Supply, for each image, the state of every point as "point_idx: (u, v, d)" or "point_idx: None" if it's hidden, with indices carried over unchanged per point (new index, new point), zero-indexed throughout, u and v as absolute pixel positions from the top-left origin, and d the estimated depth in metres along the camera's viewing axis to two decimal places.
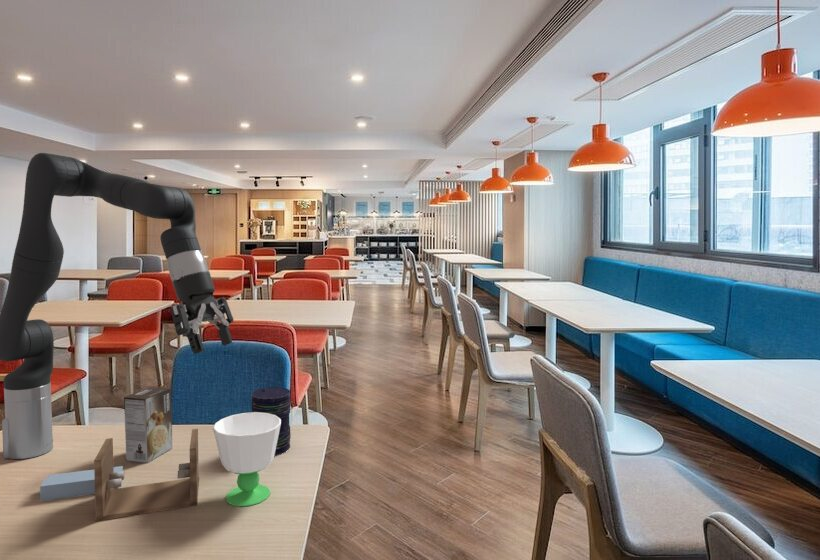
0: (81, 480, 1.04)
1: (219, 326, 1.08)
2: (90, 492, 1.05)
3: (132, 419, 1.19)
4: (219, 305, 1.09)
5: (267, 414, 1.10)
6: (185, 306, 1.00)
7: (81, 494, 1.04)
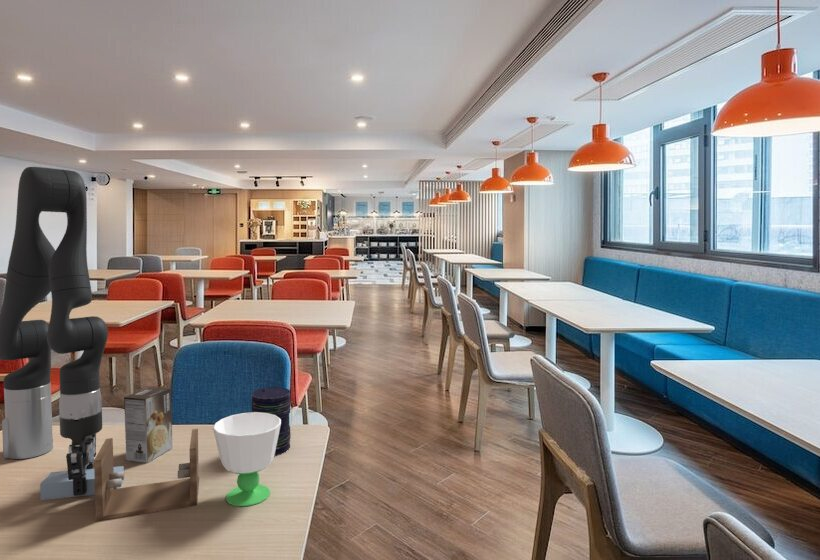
0: None
1: (83, 462, 1.08)
2: (89, 491, 1.04)
3: (132, 419, 1.19)
4: None
5: (267, 414, 1.10)
6: (79, 450, 1.01)
7: None
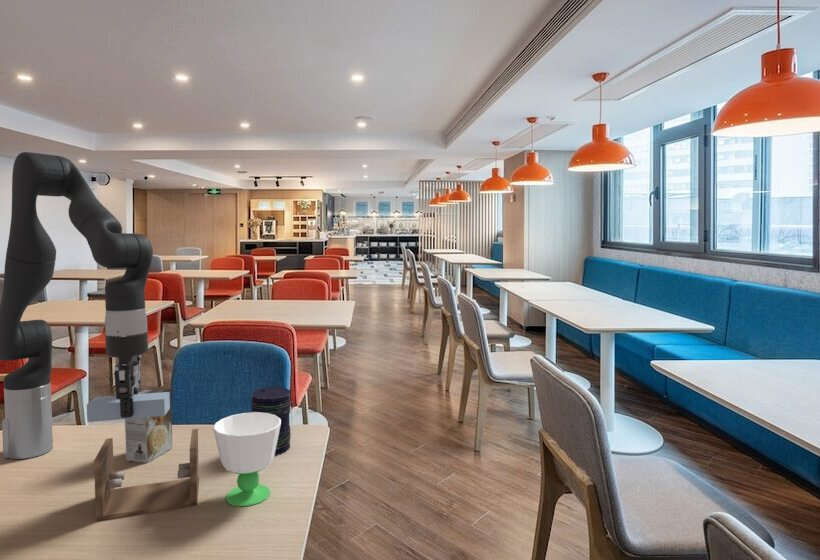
0: None
1: None
2: (136, 414, 1.00)
3: (132, 419, 1.19)
4: None
5: (267, 414, 1.10)
6: (126, 368, 0.97)
7: None
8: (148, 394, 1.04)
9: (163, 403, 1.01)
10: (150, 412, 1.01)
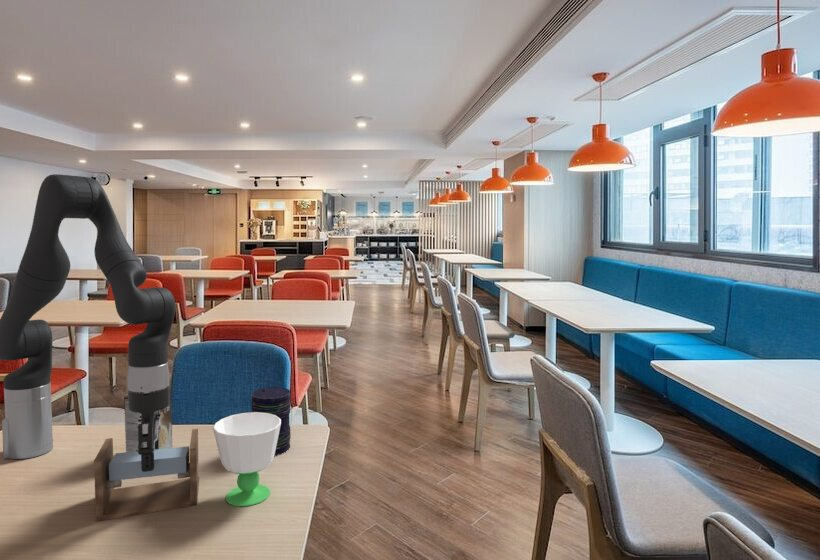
0: None
1: None
2: (158, 472, 1.01)
3: (132, 419, 1.19)
4: None
5: (267, 414, 1.10)
6: (149, 423, 0.98)
7: (149, 473, 1.00)
8: (168, 449, 1.05)
9: (184, 460, 1.02)
10: (171, 470, 1.01)
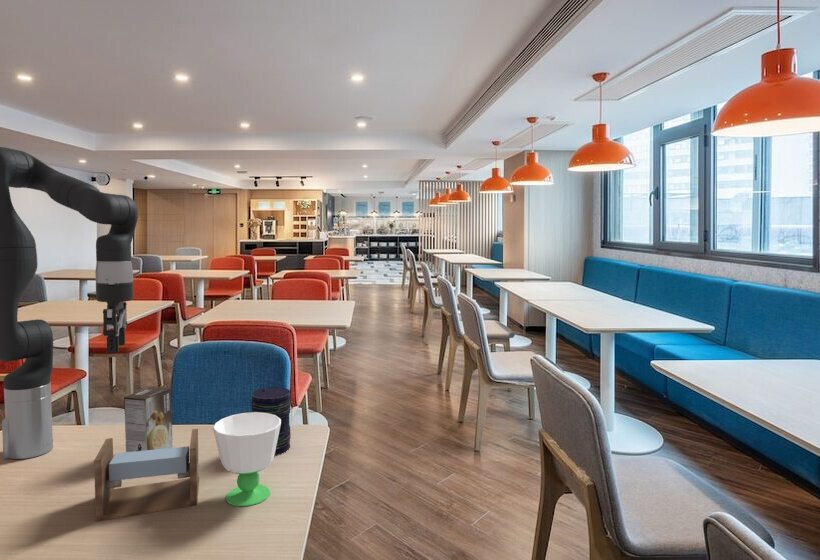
0: (149, 459, 1.00)
1: None
2: (158, 472, 1.01)
3: (132, 419, 1.19)
4: None
5: (267, 414, 1.10)
6: None
7: (149, 473, 1.00)
8: (168, 449, 1.05)
9: (184, 460, 1.02)
10: (171, 470, 1.01)
